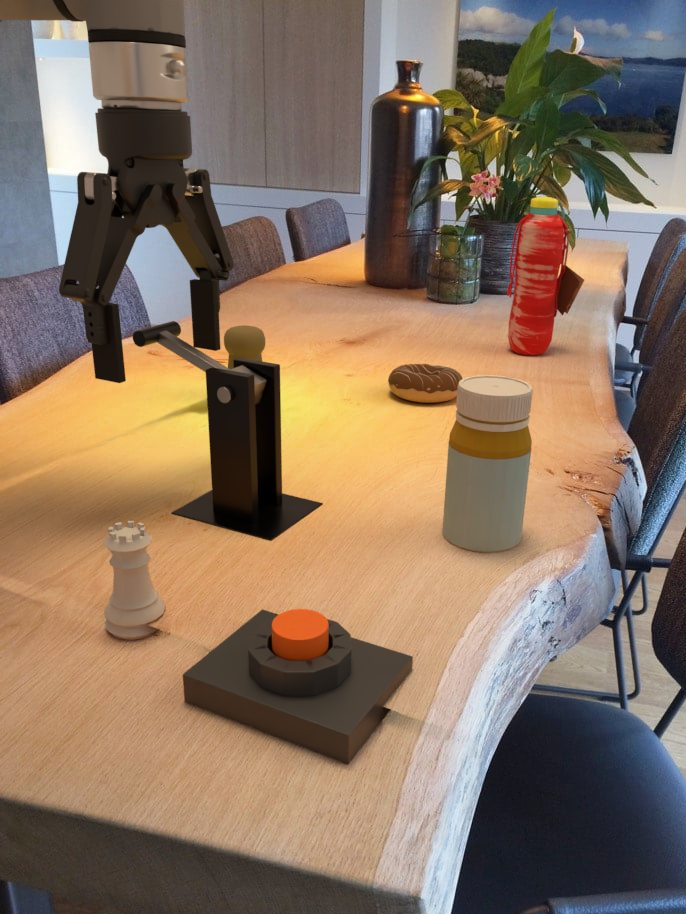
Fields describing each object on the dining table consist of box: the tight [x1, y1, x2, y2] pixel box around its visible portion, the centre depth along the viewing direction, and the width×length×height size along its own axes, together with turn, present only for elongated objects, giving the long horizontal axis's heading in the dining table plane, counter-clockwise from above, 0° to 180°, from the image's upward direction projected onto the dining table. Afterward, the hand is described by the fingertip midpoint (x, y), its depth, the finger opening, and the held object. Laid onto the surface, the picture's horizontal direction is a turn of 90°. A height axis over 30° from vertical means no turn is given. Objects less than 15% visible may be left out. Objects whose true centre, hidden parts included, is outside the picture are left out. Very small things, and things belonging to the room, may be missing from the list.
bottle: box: [441, 374, 534, 554], centre depth 72 cm, size 7×7×15 cm
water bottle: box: [506, 196, 585, 356], centre depth 137 cm, size 12×8×25 cm, turn 91°
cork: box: [223, 324, 266, 370], centre depth 106 cm, size 6×6×11 cm
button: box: [272, 608, 329, 661], centre depth 53 cm, size 4×4×2 cm
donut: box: [387, 363, 463, 404], centre depth 116 cm, size 11×11×4 cm
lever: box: [132, 320, 267, 405], centre depth 74 cm, size 12×5×2 cm, turn 63°
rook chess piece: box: [103, 520, 166, 641], centre depth 60 cm, size 4×4×8 cm
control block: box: [182, 609, 414, 765], centre depth 54 cm, size 12×9×4 cm
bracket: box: [170, 358, 324, 542], centre depth 75 cm, size 11×9×15 cm
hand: (162, 363), depth 76 cm, fingers open, 13 cm apart
